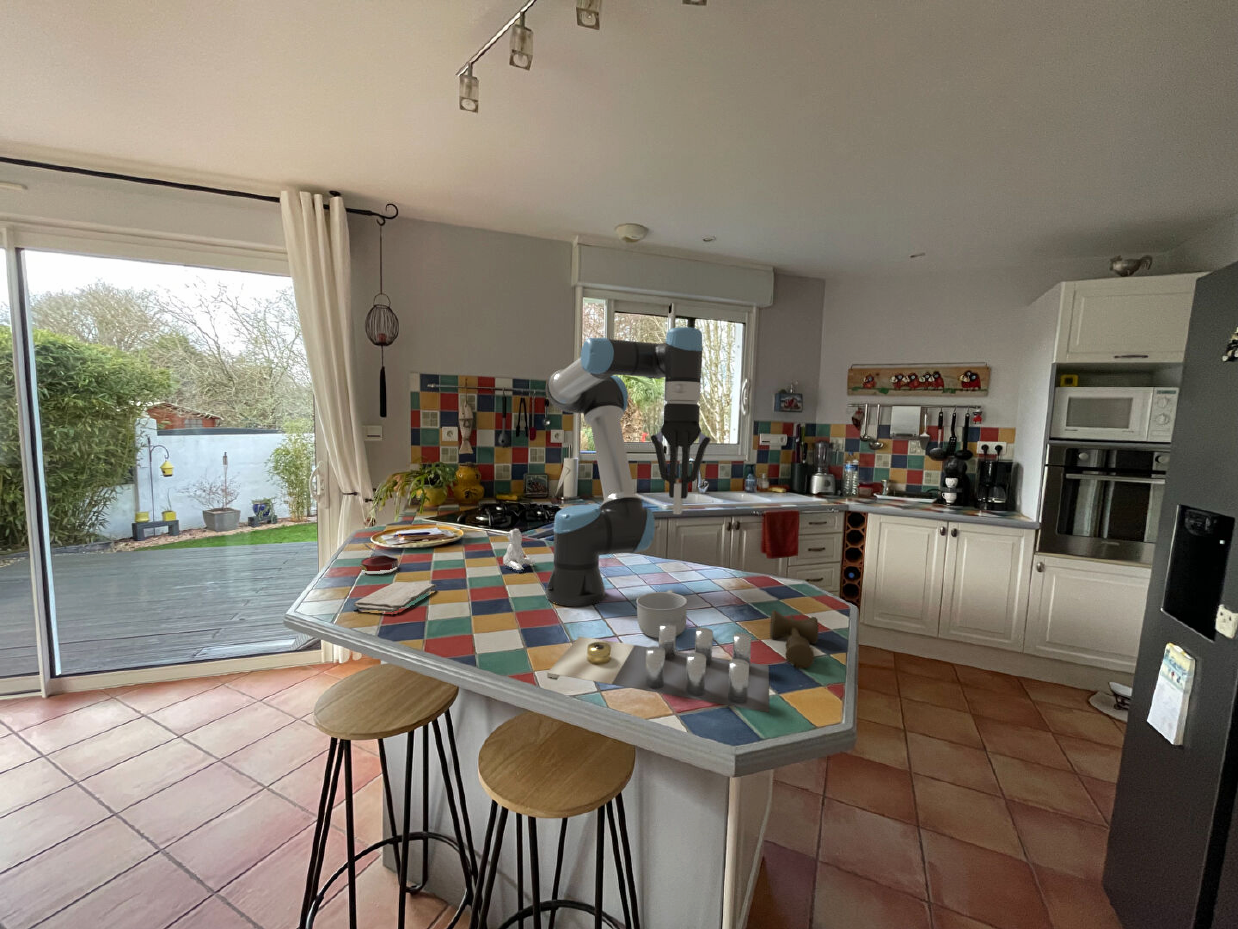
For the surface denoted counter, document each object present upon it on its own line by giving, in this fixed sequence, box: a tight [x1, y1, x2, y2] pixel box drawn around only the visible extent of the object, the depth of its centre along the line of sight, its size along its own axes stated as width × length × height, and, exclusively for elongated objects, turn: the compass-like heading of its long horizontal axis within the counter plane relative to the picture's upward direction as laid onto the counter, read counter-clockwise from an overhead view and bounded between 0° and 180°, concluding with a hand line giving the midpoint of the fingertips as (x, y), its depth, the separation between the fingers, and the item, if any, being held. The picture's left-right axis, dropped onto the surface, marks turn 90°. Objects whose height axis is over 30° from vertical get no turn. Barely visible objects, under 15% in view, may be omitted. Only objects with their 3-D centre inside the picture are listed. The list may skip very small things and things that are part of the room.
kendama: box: [769, 609, 819, 670], centre depth 106 cm, size 6×10×20 cm
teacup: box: [635, 589, 688, 640], centre depth 111 cm, size 14×11×8 cm
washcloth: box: [353, 581, 437, 613], centre depth 126 cm, size 12×18×3 cm, turn 171°
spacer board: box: [546, 636, 770, 713], centre depth 93 cm, size 38×16×1 cm, turn 74°
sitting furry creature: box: [502, 528, 536, 570], centre depth 155 cm, size 10×9×12 cm
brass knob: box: [587, 642, 611, 665], centre depth 96 cm, size 4×4×2 cm
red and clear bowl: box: [360, 542, 399, 571], centre depth 150 cm, size 11×10×10 cm
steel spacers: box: [645, 623, 752, 704], centre depth 91 cm, size 17×14×6 cm
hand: (677, 513), depth 110 cm, fingers closed
